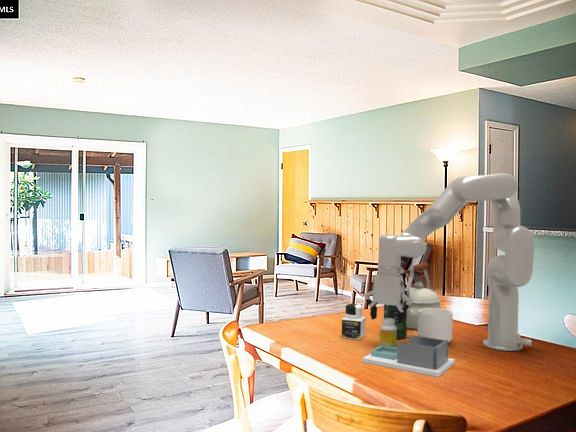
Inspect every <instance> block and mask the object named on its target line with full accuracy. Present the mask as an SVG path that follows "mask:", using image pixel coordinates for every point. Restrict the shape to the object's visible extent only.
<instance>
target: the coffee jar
mask: <svg viewBox="0 0 576 432" xmlns="http://www.w3.org/2000/svg"><path fill="white" fill-rule="evenodd" d="M404 294H405V295H406V296H407V291H406V290H404ZM406 303H407V301H406V300H404V303H403V305H404V306H405V305H406ZM398 312H399V309H398V308H397V306H392V305H385V304H383V318H392V319H395V324H394V325H395V326H396V327H397V338H396V340H401V339H405V338H407V333H408V331H407V329H408V328H407V310H406V311H405V312H404V321H403V323H401V324H398Z"/></svg>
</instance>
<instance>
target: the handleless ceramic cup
mask: <svg viewBox="0 0 576 432" xmlns="http://www.w3.org/2000/svg"><path fill="white" fill-rule="evenodd" d="M453 313H454V312H452V310H448V309H445V308H441V309H438V308H423V309H419V310H418V329H417V336H422V337H428V338H435V339H441V340H448V344H449V343H450V342H451V341H452V338H453Z"/></svg>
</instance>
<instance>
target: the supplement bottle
mask: <svg viewBox="0 0 576 432" xmlns="http://www.w3.org/2000/svg"><path fill="white" fill-rule="evenodd" d="M394 324H395V319H392V318H384V317H383V318H382V325H381V326H380V344H379V346H387V347H393V348H397V339H396V338H397V327H396V326H395V325H394Z"/></svg>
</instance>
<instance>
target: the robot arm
mask: <svg viewBox="0 0 576 432" xmlns="http://www.w3.org/2000/svg"><path fill="white" fill-rule="evenodd" d="M518 187H519V182H518V180H517V178H516V177H515V176H514V175H513V174H511V173H508V172H501V173H491V174H480V175H467V176H460V177H455V179H454V180H452V181H451V182H450V183H449V184H448V185H447V187H445V188H444V190H443V191H442V192H441V194H440V195H439V196H438V197H437V198H435V200H434V201H433V203H432V204H430V205H429V207H428V208H427V209H425V210H424V211H423V212H422V213H421V214H420V215H419V216H417V217H416V218H415V219H414V220H413V221H412V222H411V223H410V224H409V225H408V226H407V227H406V228H405V229H404V230H403V231H402V233H401V234H400V235H396V234H382V235H380V237H379V240H378V257H377V258H378V259H377V260H378V261H377V273H376V274H375V278H374V283H373V288H372V290H370V291H368V292H365V293H364V294H363V295H364V298H365V301H366V303H367V305H368V306H369V308H370V314H369V315H370V317H371V318H370V319H371V320H373V321H374V320H375V319H378V318H377V316H378V307H377V305H378V304H380V305H384V304H385V305H392V306H397V308H398V309H399V312H398V324H401V323H403V321H404V312H405V311H406V310H407V309H408V308H409V307H410V305H411V304H412V302H413V300H412V299H411V298H409V297H408V296H406V295H405V294H404V289H405V285H404V278H403V277H404V276H403V275H401V274H404V273H405V269H403V268H402V266H401V263H402V262H401V261H402V259H401V258H402V257H405V258H410V259H411V258H412V259H417V258H420V257H422V256H424V254H425V253H426V251H427V244H426V241H425V239H426V238H427V237H428V236H429V235H431V234H432V233H433V232H435V231H436V230H439V229H441V228H444V227H445V226H446V225H448V224H450V223H451V222H452V220H453V219H454V218H455V217H456V215H457V214H458V213H459V212H460V211H461V210H462V209H463V208H464V207H465V206H466V204H467V203H469V202H485V201H489V202H490V203H491V205H492V208H493V209H492V210H493V225H492V226H493V227H492V228H493V229H492V243H493V246H494V247H495V248H496V250H498V251H502V252H504V255H501V254H499V255H496V256H494V257H493V258H491V259H490V260H489V261H488V264H487V269H486V275H487V282H488V317H487V318H488V321H487V322H488V325H487V331H488V332H487V338H485V339H484V340H483V341H482V343H483V345H484V347H487V348H489V349H493V350H498V351H504V352H505V351H507V352H513V351H514V352H516V351H521V350H522V349H523V345H524V346H528V347H531V346H532V340H531V339H529V338H525V337H524V338H522V337H521V333H519V331H518V330H519V303H520V301H519V289H518V288H521V287H524V286H526V285H527V284H528V283H530V281H531V278H532V276H533V272H534V271H533V270H534V257H535V239H534V235H533V233H532V232H531V230H530V229H529V228H528V227H525V226H523V225H521V205H520V201H519V199H518V197H517V195H516V193H517V191H518ZM371 296H372V299H371ZM404 300H406V301H407V303H406V305H405V306H404V305H403V303H404Z"/></svg>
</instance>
